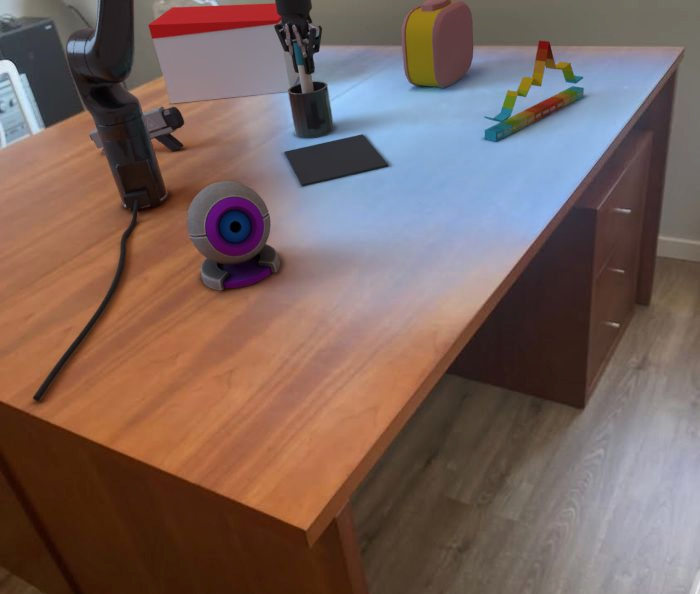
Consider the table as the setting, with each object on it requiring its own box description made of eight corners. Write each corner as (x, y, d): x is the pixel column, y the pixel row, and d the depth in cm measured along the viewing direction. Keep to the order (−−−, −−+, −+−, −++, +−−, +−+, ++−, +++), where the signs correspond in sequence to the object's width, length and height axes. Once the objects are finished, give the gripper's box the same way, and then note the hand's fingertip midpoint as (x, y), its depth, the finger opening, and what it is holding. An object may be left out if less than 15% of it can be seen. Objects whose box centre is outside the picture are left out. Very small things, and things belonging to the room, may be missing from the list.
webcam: (213, 299, 113) (187, 211, 104) (194, 265, 123) (169, 183, 114) (290, 273, 116) (271, 186, 107) (265, 242, 126) (247, 160, 117)
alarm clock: (440, 69, 195) (435, -10, 184) (476, 71, 189) (474, -10, 178) (403, 91, 184) (396, 9, 172) (441, 94, 178) (436, 9, 166)
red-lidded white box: (190, 81, 219) (171, 7, 207) (302, 69, 214) (290, -8, 201) (169, 104, 203) (147, 24, 191) (290, 91, 197) (275, 9, 185)
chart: (496, 141, 149) (495, 66, 140) (484, 138, 151) (482, 64, 142) (584, 96, 163) (588, 25, 154) (572, 94, 165) (575, 24, 156)
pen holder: (337, 132, 166) (331, 88, 160) (299, 141, 165) (291, 97, 159) (329, 121, 173) (322, 78, 167) (292, 129, 172) (284, 86, 166)
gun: (192, 145, 168) (172, 104, 163) (108, 172, 178) (86, 134, 173) (197, 141, 170) (177, 100, 165) (113, 168, 180) (92, 130, 175)
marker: (321, 128, 167) (307, 42, 156) (309, 130, 167) (294, 44, 156) (318, 124, 170) (305, 39, 159) (306, 127, 169) (291, 41, 158)
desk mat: (388, 166, 146) (388, 164, 146) (302, 186, 144) (301, 184, 144) (362, 135, 162) (362, 134, 162) (284, 153, 160) (284, 151, 160)
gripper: (256, -9, 154) (272, 74, 164) (299, -7, 145) (313, 81, 155) (283, -17, 157) (297, 65, 168) (326, -16, 149) (338, 71, 159)
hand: (304, 72), depth 161 cm, fingers closed on marker, 3 cm apart
